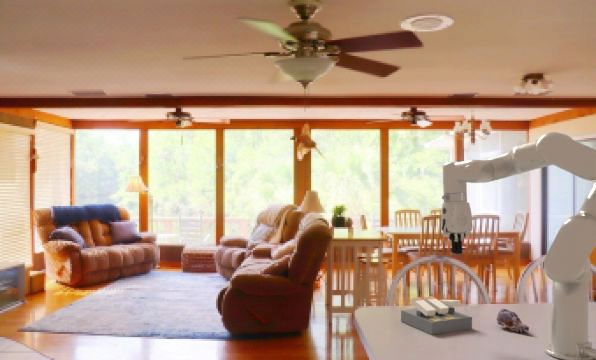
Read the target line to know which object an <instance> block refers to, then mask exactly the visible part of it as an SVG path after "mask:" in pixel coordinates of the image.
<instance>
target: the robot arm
mask: <svg viewBox="0 0 596 360" xmlns="http://www.w3.org/2000/svg"><path fill="white" fill-rule="evenodd" d="M550 166H555V167H557V168H559V169H561V170H563V171H565V172H568V173H570V174H572V175H573V176H576V177H578V178H581V179H583V180H586V181H592V186H591V188H590V190H589V192H587V194H586V197H585V198H584V201H583V203H582V205H581V206H580V208H579V210H578V212H577V213H576V214H575V215H572V216H570V217H568V218H567V219H566V220H565V221H564V222H563V224H562V225H561V227H560V228H559V230H558V231H557V234H556V235H555V237H554V239H553V241H552V244H551V245H550V246H549V249H548V251H547V253H546V255H545V257H544V260H543V270H544V272H545V274H546V276H547V277H548V278H549V279H550V280H551V281H552V286H551V287H552V288H551V290H552V291H551V344H548V345H546V346H545V352H546V354H548V355H549V356H551V357H554V358H556V359H561V360H594V359H595V360H596V348H593V347H592V346H593V343H592V342H590V341H589V316H590V315H589V309H590V308H589V307H590V305H589V303H590V297H589V296H590V282H591V272H592V263H591V259H590V255H591V254H592V252H593V250H594V249H595V246H596V149H595V148H593V147H591V146H588V145H586V144H584V143H581V142H578V141H576V140H575V139H573V138H572V136H570V135H568V134H565V133H561V132H558V131H557V132H556V131H551V132H547V133H545V134H543V135H542V136H540V138H539V139H536V140H532V141H529V142H525V143H522V144H518V145H515V146H513V147H512V148H511V149H510V151H508V152H507V153H504V154H502V155H499V156H498V155H497V156H495V157H492V158H487V159H484V160H483V159H469V160H464V161H448V162H445V163H443V165H442V186H443V187H442V189H443V191H442V192H443V195H442V196H441V199H442V200H443V203H442V205H441V212H440V213H441V214H440V228H441V231H442V236H443V237H446V238H448V239H449V241H450V242H451V253H452V254H456V255H462V254H463V242H464V238H465V237H467V236H469V235H470V233H471V232H472V231H473V228H474V227H473V216H472V209H471V205H470V202H468V193H467V192H468V190H467V183H469V184H470V183H471V184H480V183H481V184H484V183H489V182H495V181H498V180H502V179H507V178H508V177H513V176H516V175H521V174H523V173H527V172H530V171H535V170H537V169H542V168H546V167H550Z"/></svg>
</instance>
